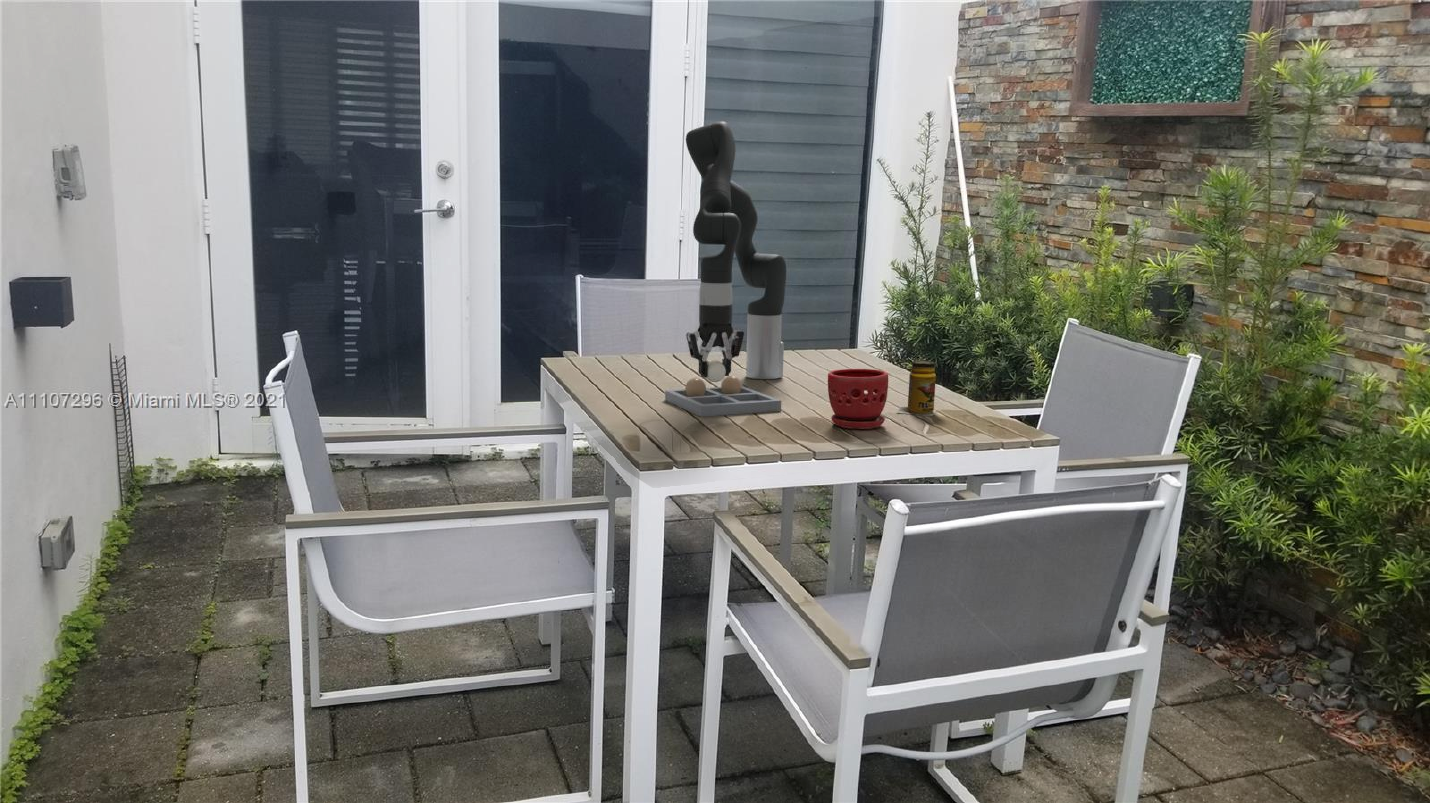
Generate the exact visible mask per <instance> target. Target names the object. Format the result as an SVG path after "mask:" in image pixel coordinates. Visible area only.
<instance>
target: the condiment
mask: <svg viewBox="0 0 1430 803" xmlns="http://www.w3.org/2000/svg"><path fill="white" fill-rule="evenodd" d="M910 368H911V369H910V370H911V371H910V373H909V379H908V380H909V381H908V395H907V396H908V397H907V406H900V408H899V409H898V410H897V412H896V413H897V414H909V415H915V416H925V417H926V416H927V417H933V416H934V415H935V414H936V412H937V409H935V397H936V394H935V393H936V381H937V380H936V379H937V378H936V376H937V375H936V373H935V371H936V370H935V368H936V364H935V362H933V361H930V360H922V359H920V360H913V361H912V363H911V367H910Z"/></svg>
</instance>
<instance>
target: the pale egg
mask: <svg viewBox="0 0 1430 803" xmlns="http://www.w3.org/2000/svg"><path fill="white" fill-rule="evenodd" d="M725 374H726V369H725V366H724V365H723V364H722V361H720V360H711V361H709V362H708V370H707V377H706V380H707V381H709V382H711V383H719V382H722V381H723V380H724V379H725V378H726V376H725Z"/></svg>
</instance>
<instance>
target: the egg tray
mask: <svg viewBox="0 0 1430 803" xmlns="http://www.w3.org/2000/svg"><path fill="white" fill-rule="evenodd" d="M665 400H666V402H668V403H670V404H672V405H674V404H676V405H677V407H678V406H679V408H681V409H683V410H686V411H688V412H689V413H692V414H694V415H696V416H699V417H701V418H705V417H715V416H716V417H719V416H730V415H732V416H733V415H742V414H743V415H744V414H757V413H758V414H759V413H768V412H771V413H772V412H780V411H782V400H781V399H778V398H775V397H773V396H770V395H767V394H765V393H762V392H761V391H760V392H759V391H757V390H754V389H751V388H750V387H746V386H744V385H742V389H741V391H740V393H739V394H726V395H725V394H724V393H723V392H722V389H721V386H716V387H715V386H714V387H713V386H712V387H706V392H705V394H704V396H697V397H689V396H688V395H687V394H686V391H685V388H681V389H670V390H669V389H668V390H664V401H665ZM676 405H675V406H676Z"/></svg>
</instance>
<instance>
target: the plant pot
mask: <svg viewBox="0 0 1430 803" xmlns="http://www.w3.org/2000/svg"><path fill="white" fill-rule="evenodd" d="M852 390H854V393H853V394H851V392H852ZM843 391H844V392H843ZM865 391H867V393H866V392H865ZM888 391H889V372H887V371H884V370H880V369H873V368H872V369H871V368H844V369H837V370H836V369H835V370H831V371H829V372H828V374H827V392H828V399H829V403H830V407H831V409H832V412H833V413H834V414H832V415H831V418H830V419H831V421H832V423H833V424H835V425H836V426H838V427H840V428H844V429H847V430H871V429H877V428H878V427H881V426H882V425H883V424H884V422H885V421H886V418H885V416H884V415H882V412H883V411H884V408H885V405H886V403H887V398H888Z"/></svg>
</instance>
